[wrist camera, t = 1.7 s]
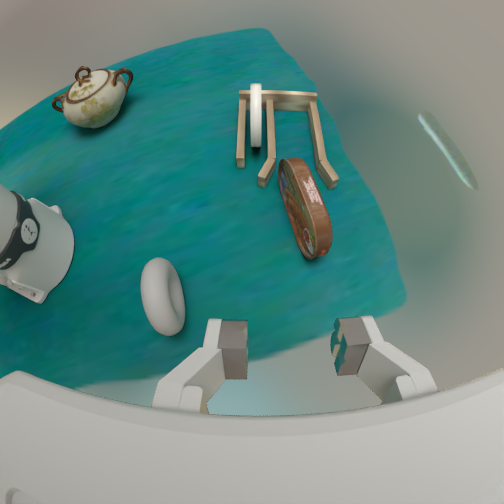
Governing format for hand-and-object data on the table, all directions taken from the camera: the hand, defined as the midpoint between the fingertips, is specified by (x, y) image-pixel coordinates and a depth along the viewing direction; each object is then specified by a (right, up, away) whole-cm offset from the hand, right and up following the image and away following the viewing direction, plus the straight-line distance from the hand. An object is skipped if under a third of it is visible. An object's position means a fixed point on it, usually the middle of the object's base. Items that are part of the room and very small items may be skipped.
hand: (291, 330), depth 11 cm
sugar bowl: (-35, +34, +40) cm, 63 cm away
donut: (-13, -4, +28) cm, 31 cm away
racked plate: (-1, +24, +36) cm, 43 cm away
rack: (+4, +22, +36) cm, 42 cm away
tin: (+6, +8, +32) cm, 33 cm away
